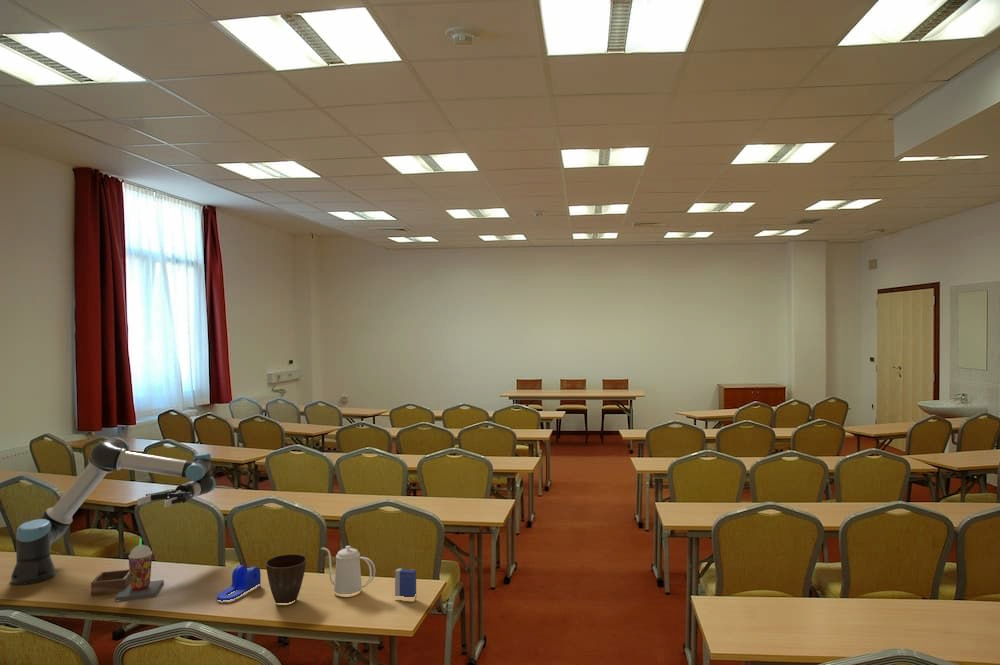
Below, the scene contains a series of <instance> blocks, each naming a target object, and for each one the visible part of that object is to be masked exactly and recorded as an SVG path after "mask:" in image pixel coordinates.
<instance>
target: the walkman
mask: <svg viewBox="0 0 1000 665" xmlns="http://www.w3.org/2000/svg"><path fill="white" fill-rule="evenodd" d="M394 573H395V574H394V575H395V576H394V597H395V596H404V597H414V596H415V594H416V595H417V570H416V569H414V568H410V569H408V568H407V569H406V568H401V567H399V568H397V569H396V570H394Z"/></svg>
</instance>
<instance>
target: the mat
mask: <svg viewBox="0 0 1000 665" xmlns="http://www.w3.org/2000/svg"><path fill="white" fill-rule="evenodd" d="M164 584H165V580H164V579H160V580H150V584H149V586H148V588H146V589H144V590H140V591H134V590H132V588H131V586H130V583H129V584H128V585H127V586H126V588H122V589H121V591H120V592H119V593H116V596H115V597H114V602H117V601H116V600H123V601H129V600H130V601H131V600H139V599H140V600H141V599H147V598H156V596H157V595H158V594H159V592H160V591H161V589H162V587H163V586H164Z"/></svg>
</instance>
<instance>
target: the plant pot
mask: <svg viewBox="0 0 1000 665" xmlns="http://www.w3.org/2000/svg"><path fill="white" fill-rule="evenodd" d="M306 565H307V556H304V555H302V554H295V553H294V554H293V553H292V554H282V555H277V556H274V557H272V558H269V559H268V560H266V562H265V568H266V574H267V578H268V584H269V588H270V592H271V595H272V597H273V600H274V602H276V603H289V602H292V601H294V600H296V601H297V599H298V596H299V594H300V590H301V588H302V584H303V581H304V576H305V572H306V571H305V570H306ZM276 603H275V604H276Z"/></svg>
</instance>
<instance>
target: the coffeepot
mask: <svg viewBox="0 0 1000 665" xmlns="http://www.w3.org/2000/svg"><path fill="white" fill-rule="evenodd" d="M320 550H323V551H326V553H327V555H328V556H327V557H328V566H329V568H328V569H329V570H328V571H329V580H330V582H331V584H332V585H333V592H334V591H335V592H336V593H338V594H352V593H355V592H358V591H360V590H361V588H362V589H363V588H365V587H366V586H368V585H369V584H370V583H372V581H373V580H374V578H375V575H376V565H375V563H374V561H372V560H371V559H370V558H368V557H366V556H361V553H360V552H359V551H358V550H359V549H357V548H354V547H352V546H351V545H345V548H342V549H340V550H339V551H337V554H335V559H336V562H335V572H334V574H335V576H334V579H333V571H332V555H331V551H330V550H329V549H328V548H326V547H320ZM361 560H363V561H364V562H365V563H366V565H367V566H368V568H369V577H368V580H367V582H366V583H365V584H364V585H362V584H363V583H362V574H361V571H362V570H361ZM372 568H373V569H372ZM372 570H373V571H372Z"/></svg>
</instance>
